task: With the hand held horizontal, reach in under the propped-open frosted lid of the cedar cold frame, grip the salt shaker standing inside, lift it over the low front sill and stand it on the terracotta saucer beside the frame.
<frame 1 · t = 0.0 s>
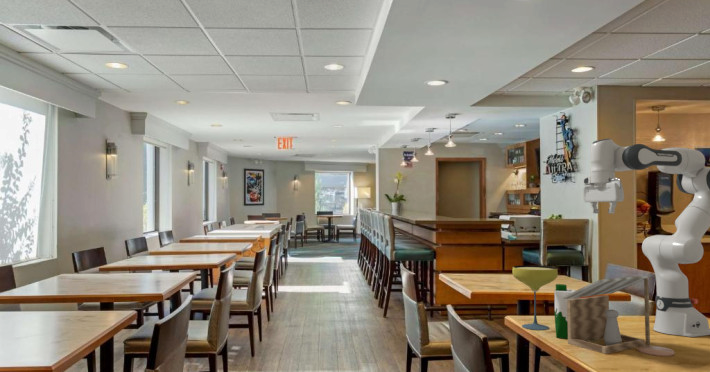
hand: (603, 213, 203), 48 cm above the table, tool pointing down, fingers open, 8 cm apart
terracotta saucer: (655, 351, 176), on the table
milk carton: (567, 337, 197), on the table
salt shaker: (612, 347, 183), resting in cold frame
cocktail glass: (535, 327, 213), on the table
cold frame: (606, 344, 186), on the table
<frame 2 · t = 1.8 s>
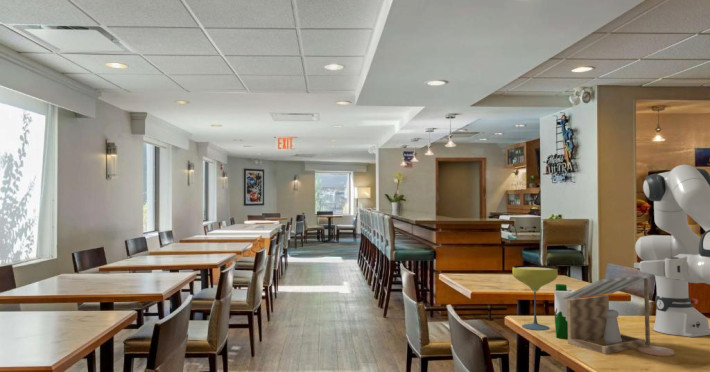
hand: (643, 264, 173), 31 cm above the table, tool horizontal, fingers open, 8 cm apart
nothing on the table moved.
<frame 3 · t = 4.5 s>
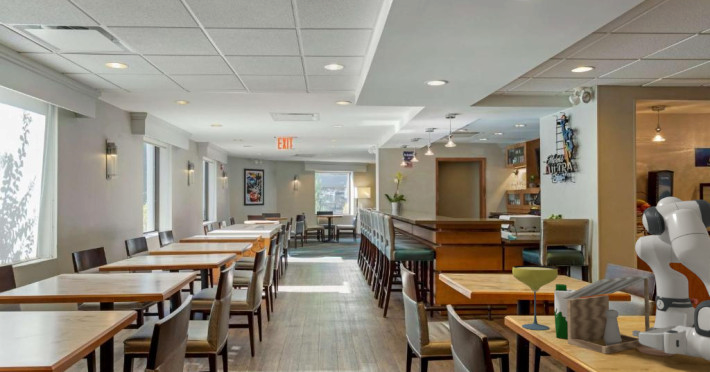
hand: (642, 331, 174), 8 cm above the table, tool horizontal, fingers open, 8 cm apart
nothing on the table moved.
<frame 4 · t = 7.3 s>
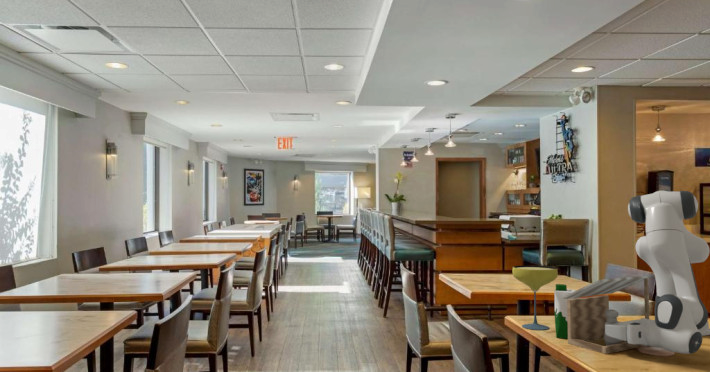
hand: (609, 324, 185), 8 cm above the table, tool horizontal, fingers closed on salt shaker, 3 cm apart
salt shaker: (612, 346, 183), resting in cold frame, touching gripper
everything else where it was.
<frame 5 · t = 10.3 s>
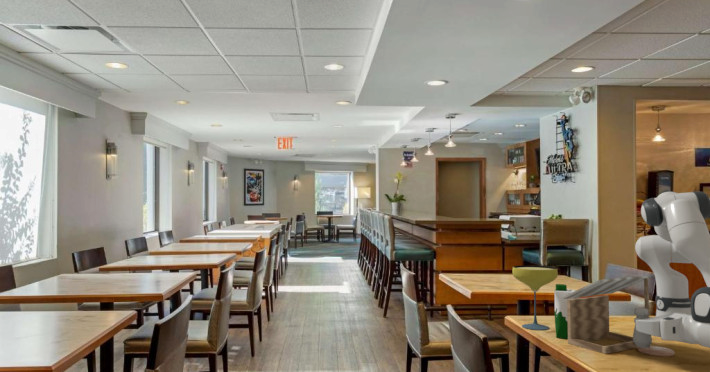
hand: (639, 319, 175), 12 cm above the table, tool horizontal, fingers closed on salt shaker, 3 cm apart
salt shaker: (642, 347, 173), point 2 cm above the table, touching gripper
everything else where it was.
when the fingers open (10 cm above the table, at t = 13.6 s): salt shaker stays where it is, resting on terracotta saucer.
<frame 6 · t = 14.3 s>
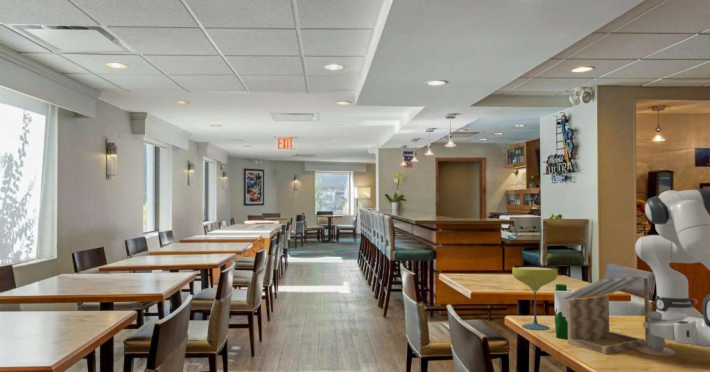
hand: (652, 322, 178), 10 cm above the table, tool horizontal, fingers open, 8 cm apart
salt shaker: (655, 350, 176), point 1 cm above the table, touching terracotta saucer
everything else where it was.
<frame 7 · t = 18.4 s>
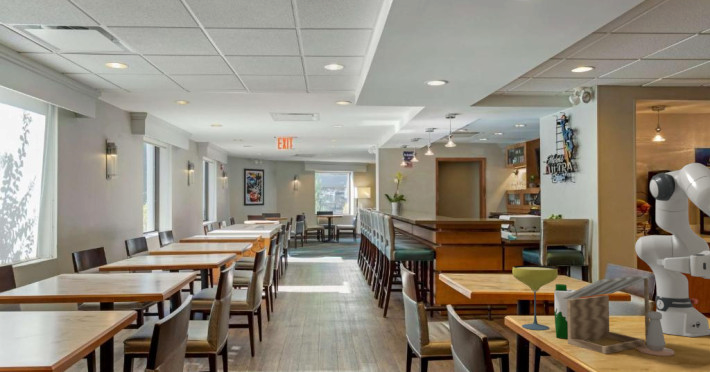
hand: (666, 261, 172), 32 cm above the table, tool horizontal, fingers open, 8 cm apart
nothing on the table moved.
at the end: salt shaker 0.2 cm from the terracotta saucer (horizontally); salt shaker tilted 0°; salt shaker point 0.6 cm above the table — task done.
